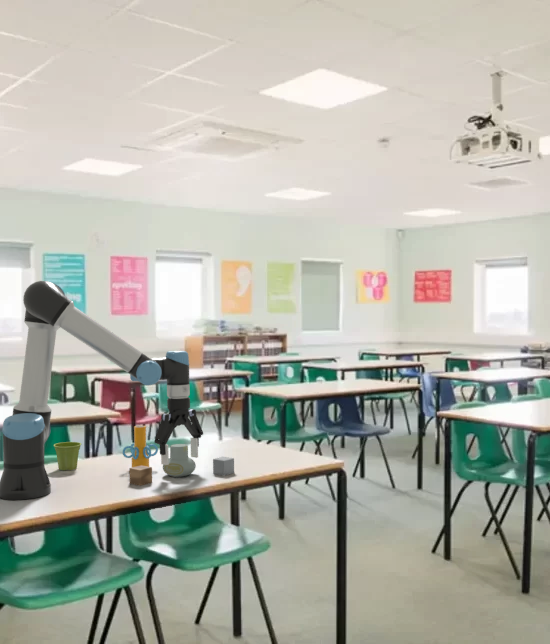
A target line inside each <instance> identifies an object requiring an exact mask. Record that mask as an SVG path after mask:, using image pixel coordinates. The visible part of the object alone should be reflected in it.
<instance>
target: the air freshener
mask: <svg viewBox="0 0 550 644" xmlns="http://www.w3.org/2000/svg"><path fill="white" fill-rule="evenodd" d="M169 451H170V452H169V465H164V464H162V470H163V472H164V473H165V474H167V476H169V477H172V478H183V477H187V476H189V475H191V474H192V473H193V472H194V471H195V470H196V468H197V466H196V464H197V463H196V462H195V461H194V459H193V458H192V457H189V445H187V444H184V443H175V444H171V445H170V447H169Z"/></svg>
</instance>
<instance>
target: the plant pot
mask: <svg viewBox="0 0 550 644" xmlns="http://www.w3.org/2000/svg"><path fill="white" fill-rule="evenodd" d="M81 446H82V443H81V442H78V441H66V442H63V441H62V442H58V443H54V444H53V447H54V450H55V453H56V454H55V455H56V460H57V466H58V470H60V471H68V470H69V471H73V470H74V471H75V470H77V467H78V461H79V454H80V453H79V452H80V449H81Z"/></svg>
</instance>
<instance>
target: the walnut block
mask: <svg viewBox="0 0 550 644" xmlns="http://www.w3.org/2000/svg"><path fill="white" fill-rule="evenodd" d="M128 471H129V473H128V474H129V484H131V485H134V486H139V487H141V486H145V485H149V484H152V483H153V467H152V466H149V467H147V466H142V465H141V466H137V467H132V466H131V467H129V470H128Z"/></svg>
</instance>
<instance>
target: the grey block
mask: <svg viewBox="0 0 550 644" xmlns="http://www.w3.org/2000/svg"><path fill="white" fill-rule="evenodd" d="M212 470H213V471H212V472H213V473H212V474H214V475H220V476H228V475H231V474H235V458H234V457H227V456H219V457H215V458H213V459H212Z"/></svg>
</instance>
